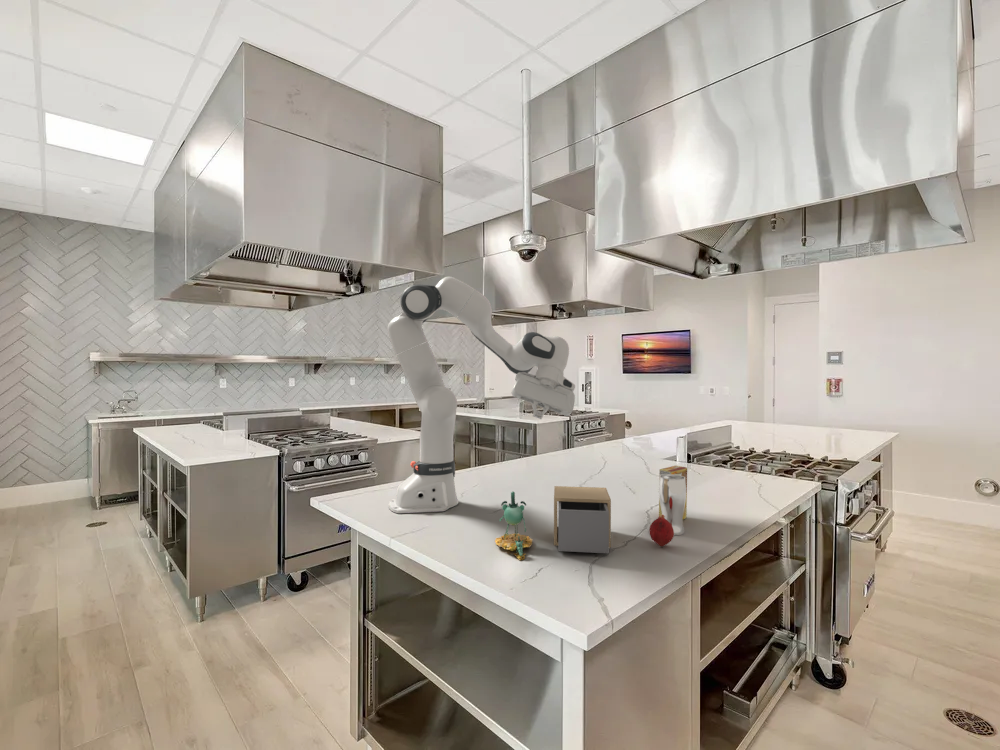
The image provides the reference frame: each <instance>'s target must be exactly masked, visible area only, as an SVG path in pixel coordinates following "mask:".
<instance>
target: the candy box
mask: <svg viewBox="0 0 1000 750" xmlns="http://www.w3.org/2000/svg"><path fill="white" fill-rule="evenodd" d="M663 474H674V475H680V476H684V477H685V483H686V501H685V507H684V512H683V520H685V519H687V517H688V516H687V511H688V509H687V505H688V503H687V502H688V497H687V496H688V467H687V466H681V465H672V466H668V467H664V468H661V469H659V476H658V477H659V478H658V479H659V481H658V483H659V482H660V475H663ZM661 514H662V511H661V506H660V499H659V498H658V517H659V516H660V515H661Z"/></svg>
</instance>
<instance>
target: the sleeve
mask: <svg viewBox="0 0 1000 750" xmlns="http://www.w3.org/2000/svg"><path fill="white" fill-rule="evenodd" d="M553 488H554V491H553V546H558V501H565V502H594V503H606V505H607V508H608V510H609V549H611V548H612V544H611V542H612V541H611V539H612V538H611V537H612V526H611V525H612V522H611V521H612V520H611V519H612V501H611V496H610V494H609V492H608V489H607V487H600V486H599V487H596V486H595V487H594V486H593V487H591V486H568V485H567V486H564V485H563V486H561V485H560V486H559V485H558V486H557V485H554V487H553Z"/></svg>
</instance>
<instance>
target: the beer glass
mask: <svg viewBox="0 0 1000 750" xmlns="http://www.w3.org/2000/svg"><path fill="white" fill-rule="evenodd" d="M658 486H659V487H658V500H659V499H660V506H661V511H662V514H663V515H664V516H665V517H664V518H665V519H666V520H667V521H669V522H670V524H671V525H672V527H673V530H674V536H681V535H684V533H685V529H684V522H683V521H684V519H683V512H684V507H685V501H686V483H685V477H684V476H680V475H674V474H663V475H660V482H659V481H658Z"/></svg>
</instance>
